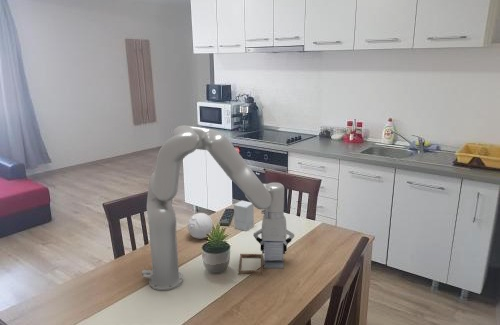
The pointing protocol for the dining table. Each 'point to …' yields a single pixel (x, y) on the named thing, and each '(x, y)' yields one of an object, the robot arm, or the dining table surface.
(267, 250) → the medicine box
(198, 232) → the decorative ball
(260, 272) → the wooden frame
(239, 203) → the supplement box
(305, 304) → the dining table surface
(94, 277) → the dining table surface
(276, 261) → the rubber mat
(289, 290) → the dining table surface
